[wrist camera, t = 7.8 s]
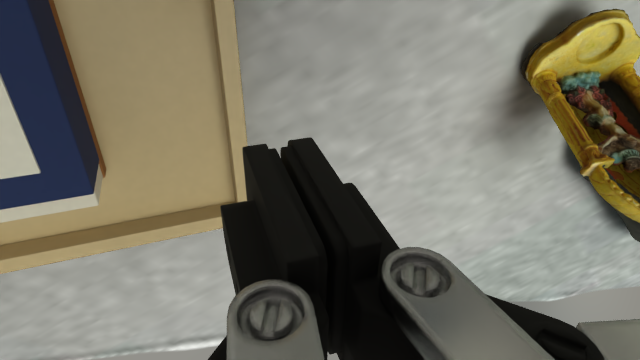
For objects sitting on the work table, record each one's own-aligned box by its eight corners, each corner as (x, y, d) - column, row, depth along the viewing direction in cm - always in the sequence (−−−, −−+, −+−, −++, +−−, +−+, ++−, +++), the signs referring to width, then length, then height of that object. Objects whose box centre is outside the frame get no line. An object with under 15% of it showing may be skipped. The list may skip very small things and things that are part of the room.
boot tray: (-392, -285, 13) (-467, -312, 11) (205, -224, 18) (211, -237, 16) (-45, 262, 25) (-58, 286, 24) (248, 205, 31) (254, 221, 29)
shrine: (544, 144, 38) (725, 250, 26) (478, 134, 35) (652, 252, 23) (618, 15, 33) (883, 75, 21) (549, -12, 30) (821, 42, 18)
